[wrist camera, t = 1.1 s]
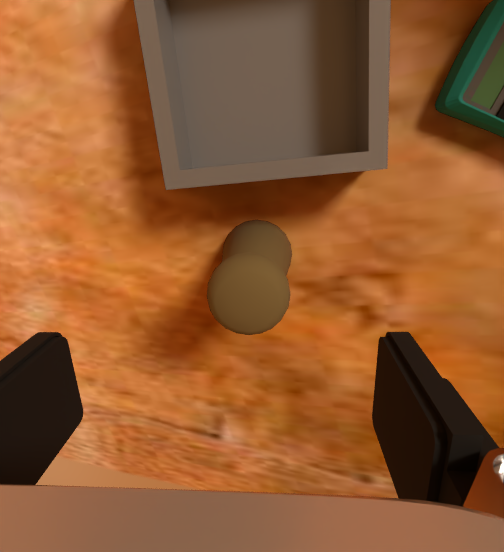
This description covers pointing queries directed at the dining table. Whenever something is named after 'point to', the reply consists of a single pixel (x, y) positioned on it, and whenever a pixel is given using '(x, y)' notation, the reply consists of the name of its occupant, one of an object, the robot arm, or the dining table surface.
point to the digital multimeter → (478, 75)
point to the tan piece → (251, 279)
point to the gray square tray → (266, 87)
